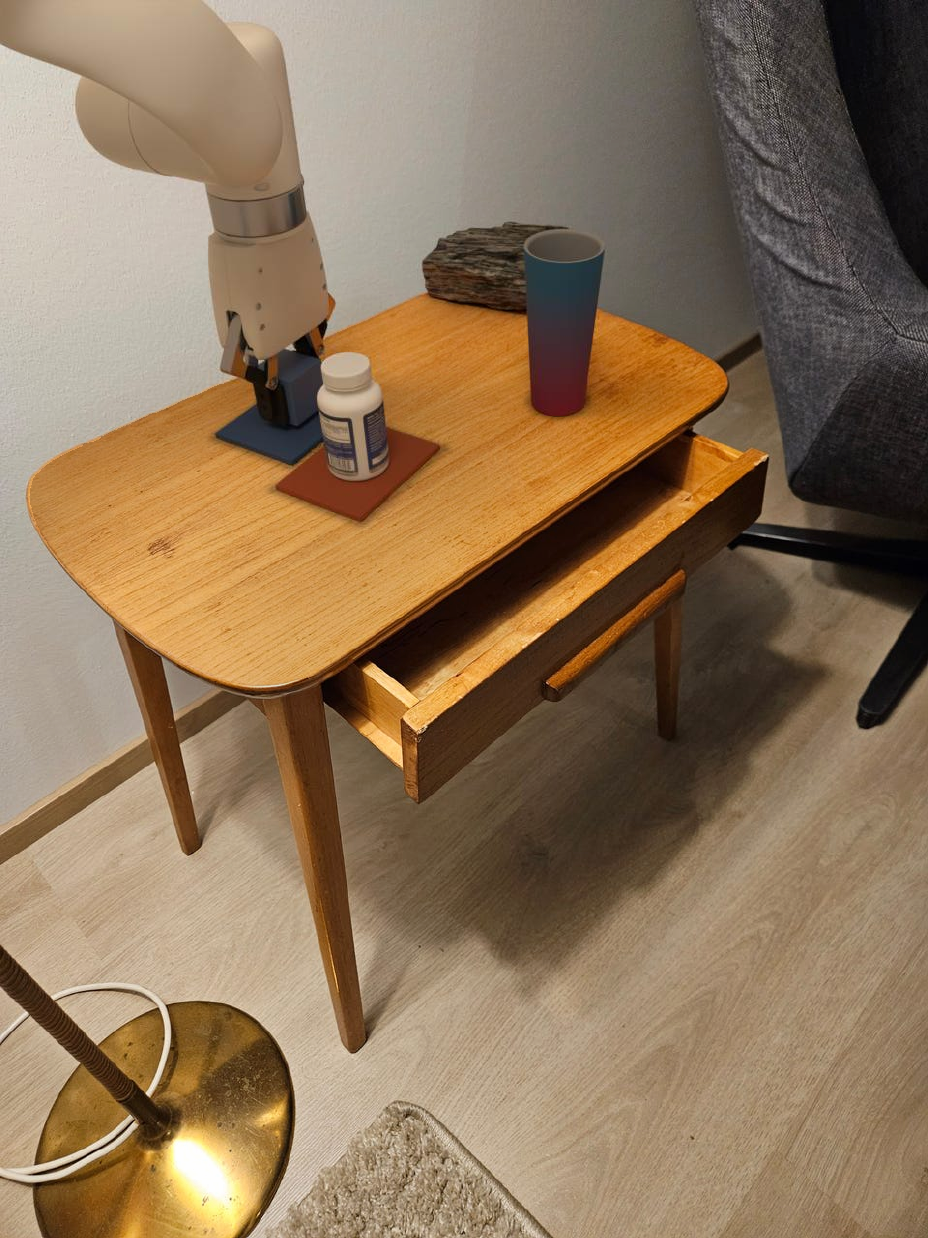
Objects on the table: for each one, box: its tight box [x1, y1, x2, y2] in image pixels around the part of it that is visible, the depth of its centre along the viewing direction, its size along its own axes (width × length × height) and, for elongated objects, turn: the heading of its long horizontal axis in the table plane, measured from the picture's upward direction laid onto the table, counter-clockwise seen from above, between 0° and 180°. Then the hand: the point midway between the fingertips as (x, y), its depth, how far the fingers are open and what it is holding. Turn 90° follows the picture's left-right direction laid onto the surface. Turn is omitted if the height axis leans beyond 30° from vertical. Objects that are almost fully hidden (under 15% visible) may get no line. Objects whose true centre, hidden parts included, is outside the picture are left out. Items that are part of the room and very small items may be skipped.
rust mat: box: [274, 426, 441, 523], centre depth 84 cm, size 12×9×1 cm
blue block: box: [258, 348, 323, 426], centre depth 88 cm, size 4×4×4 cm
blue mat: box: [214, 403, 324, 466], centre depth 90 cm, size 12×9×1 cm
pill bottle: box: [317, 351, 389, 481], centre depth 80 cm, size 5×5×10 cm
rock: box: [421, 221, 570, 311], centre depth 105 cm, size 12×16×6 cm
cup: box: [524, 228, 606, 417], centre depth 86 cm, size 7×7×15 cm
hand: (293, 405), depth 89 cm, fingers closed on blue block, 4 cm apart
